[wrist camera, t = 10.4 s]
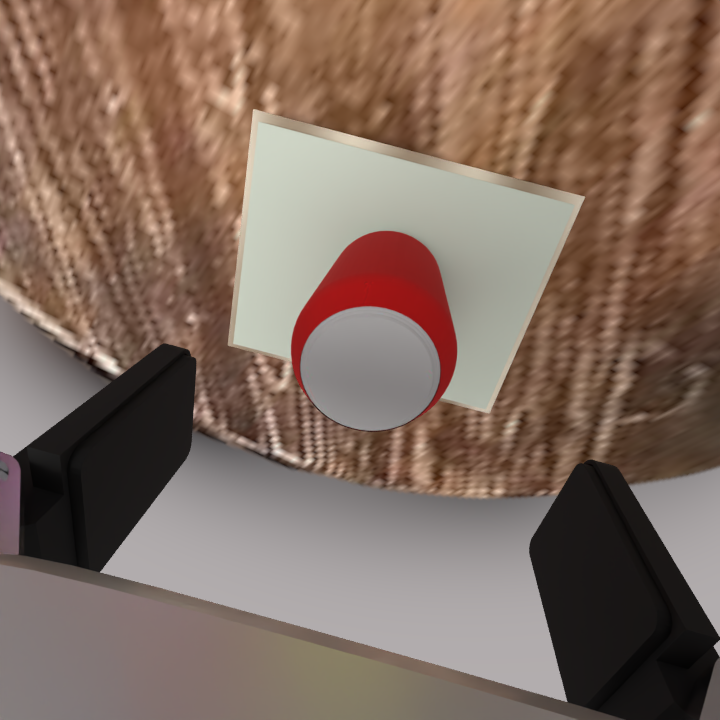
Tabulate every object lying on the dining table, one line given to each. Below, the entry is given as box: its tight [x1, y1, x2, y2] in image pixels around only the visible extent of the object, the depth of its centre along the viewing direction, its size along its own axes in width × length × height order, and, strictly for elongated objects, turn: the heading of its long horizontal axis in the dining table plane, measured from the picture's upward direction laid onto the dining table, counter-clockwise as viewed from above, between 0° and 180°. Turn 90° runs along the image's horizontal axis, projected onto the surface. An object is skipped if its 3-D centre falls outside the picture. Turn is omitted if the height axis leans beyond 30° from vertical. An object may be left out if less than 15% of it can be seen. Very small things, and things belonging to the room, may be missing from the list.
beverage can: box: [291, 231, 457, 432], centre depth 20 cm, size 6×6×12 cm
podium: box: [228, 109, 585, 413], centre depth 27 cm, size 18×14×4 cm
